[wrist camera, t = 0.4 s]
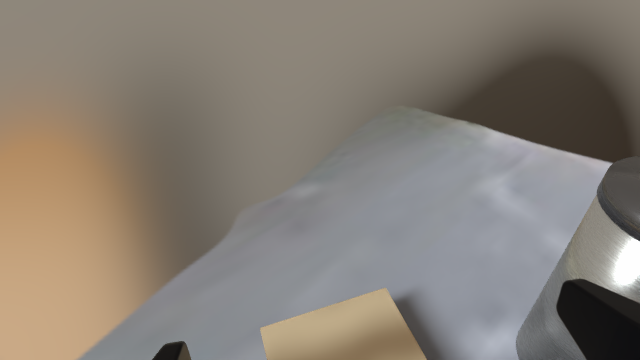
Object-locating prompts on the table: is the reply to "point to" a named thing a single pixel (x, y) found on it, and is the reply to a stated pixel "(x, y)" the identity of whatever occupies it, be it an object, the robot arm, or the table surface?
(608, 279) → the canister
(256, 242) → the table surface
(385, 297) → the oak board
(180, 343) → the robot arm
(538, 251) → the table surface
